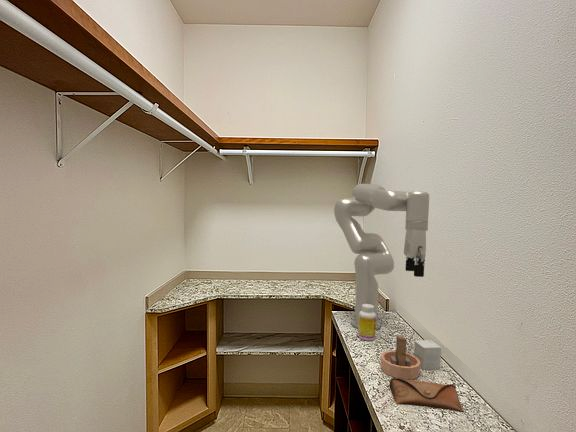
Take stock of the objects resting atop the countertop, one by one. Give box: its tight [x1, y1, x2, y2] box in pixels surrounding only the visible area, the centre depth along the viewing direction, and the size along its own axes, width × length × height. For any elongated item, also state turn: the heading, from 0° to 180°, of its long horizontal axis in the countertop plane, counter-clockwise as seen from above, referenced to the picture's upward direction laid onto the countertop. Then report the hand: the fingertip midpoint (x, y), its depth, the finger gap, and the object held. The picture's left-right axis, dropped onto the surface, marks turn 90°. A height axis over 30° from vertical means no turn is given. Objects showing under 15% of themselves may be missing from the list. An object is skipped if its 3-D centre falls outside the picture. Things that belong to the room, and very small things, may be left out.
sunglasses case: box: [389, 377, 465, 413], centre depth 90 cm, size 18×7×7 cm
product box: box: [413, 339, 442, 371], centre depth 109 cm, size 6×6×7 cm
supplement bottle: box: [357, 304, 377, 341], centre depth 131 cm, size 7×7×13 cm
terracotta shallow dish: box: [380, 350, 422, 380], centre depth 106 cm, size 12×12×4 cm
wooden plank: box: [395, 334, 407, 366], centre depth 105 cm, size 4×2×10 cm, turn 176°
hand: (414, 273), depth 119 cm, fingers open, 9 cm apart
